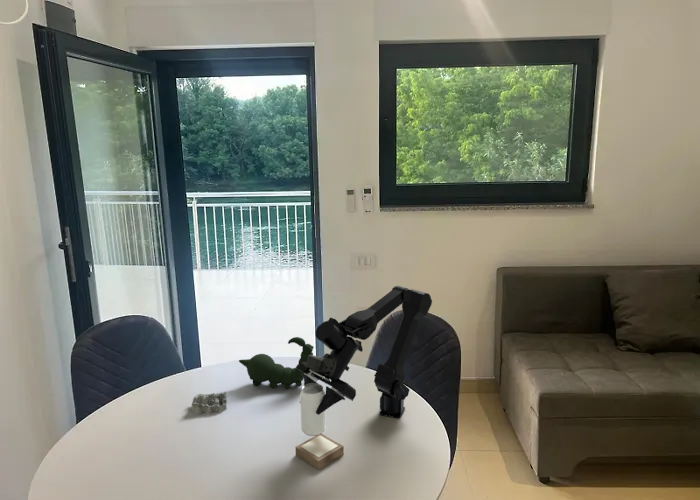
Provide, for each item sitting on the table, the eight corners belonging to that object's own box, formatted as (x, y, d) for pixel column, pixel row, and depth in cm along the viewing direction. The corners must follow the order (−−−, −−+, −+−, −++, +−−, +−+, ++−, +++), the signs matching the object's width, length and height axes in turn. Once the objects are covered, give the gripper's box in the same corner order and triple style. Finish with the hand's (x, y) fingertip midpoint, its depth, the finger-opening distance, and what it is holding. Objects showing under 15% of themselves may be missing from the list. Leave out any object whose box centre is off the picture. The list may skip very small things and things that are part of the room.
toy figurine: (311, 384, 178) (241, 376, 179) (315, 333, 174) (243, 326, 175) (307, 397, 169) (233, 389, 170) (312, 344, 165) (236, 336, 166)
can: (326, 435, 132) (325, 393, 129) (301, 437, 131) (300, 395, 129) (324, 422, 138) (323, 381, 136) (300, 424, 137) (299, 383, 135)
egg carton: (190, 416, 155) (189, 404, 154) (194, 404, 162) (193, 392, 161) (226, 413, 156) (225, 401, 155) (228, 401, 164) (227, 389, 163)
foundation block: (320, 441, 141) (320, 432, 140) (343, 454, 135) (343, 445, 134) (295, 455, 135) (295, 446, 134) (318, 469, 129) (318, 460, 128)
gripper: (301, 333, 139) (269, 383, 134) (347, 354, 126) (313, 410, 121) (324, 352, 146) (294, 400, 141) (369, 373, 132) (338, 427, 128)
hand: (308, 409), depth 132 cm, fingers closed on can, 6 cm apart
